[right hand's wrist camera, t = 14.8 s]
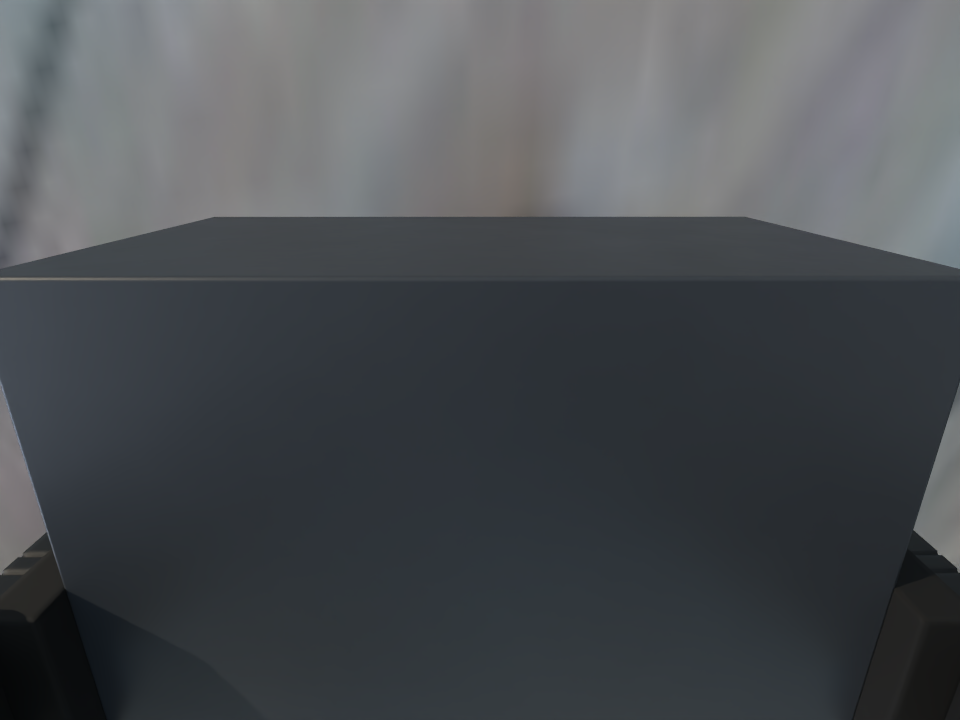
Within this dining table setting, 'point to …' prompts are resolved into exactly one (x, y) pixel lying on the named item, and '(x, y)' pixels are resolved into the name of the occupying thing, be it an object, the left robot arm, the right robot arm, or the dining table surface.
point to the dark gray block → (479, 462)
